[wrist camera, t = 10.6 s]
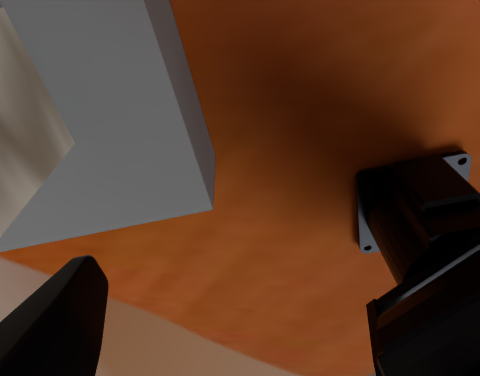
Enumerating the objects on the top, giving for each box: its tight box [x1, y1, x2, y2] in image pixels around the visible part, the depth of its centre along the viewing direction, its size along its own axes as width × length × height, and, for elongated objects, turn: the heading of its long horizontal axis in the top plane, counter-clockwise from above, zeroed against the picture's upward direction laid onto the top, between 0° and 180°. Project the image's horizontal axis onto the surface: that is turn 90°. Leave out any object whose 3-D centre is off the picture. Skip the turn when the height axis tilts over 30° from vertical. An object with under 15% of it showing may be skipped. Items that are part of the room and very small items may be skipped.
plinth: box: [0, 0, 216, 252], centre depth 15 cm, size 14×14×5 cm
